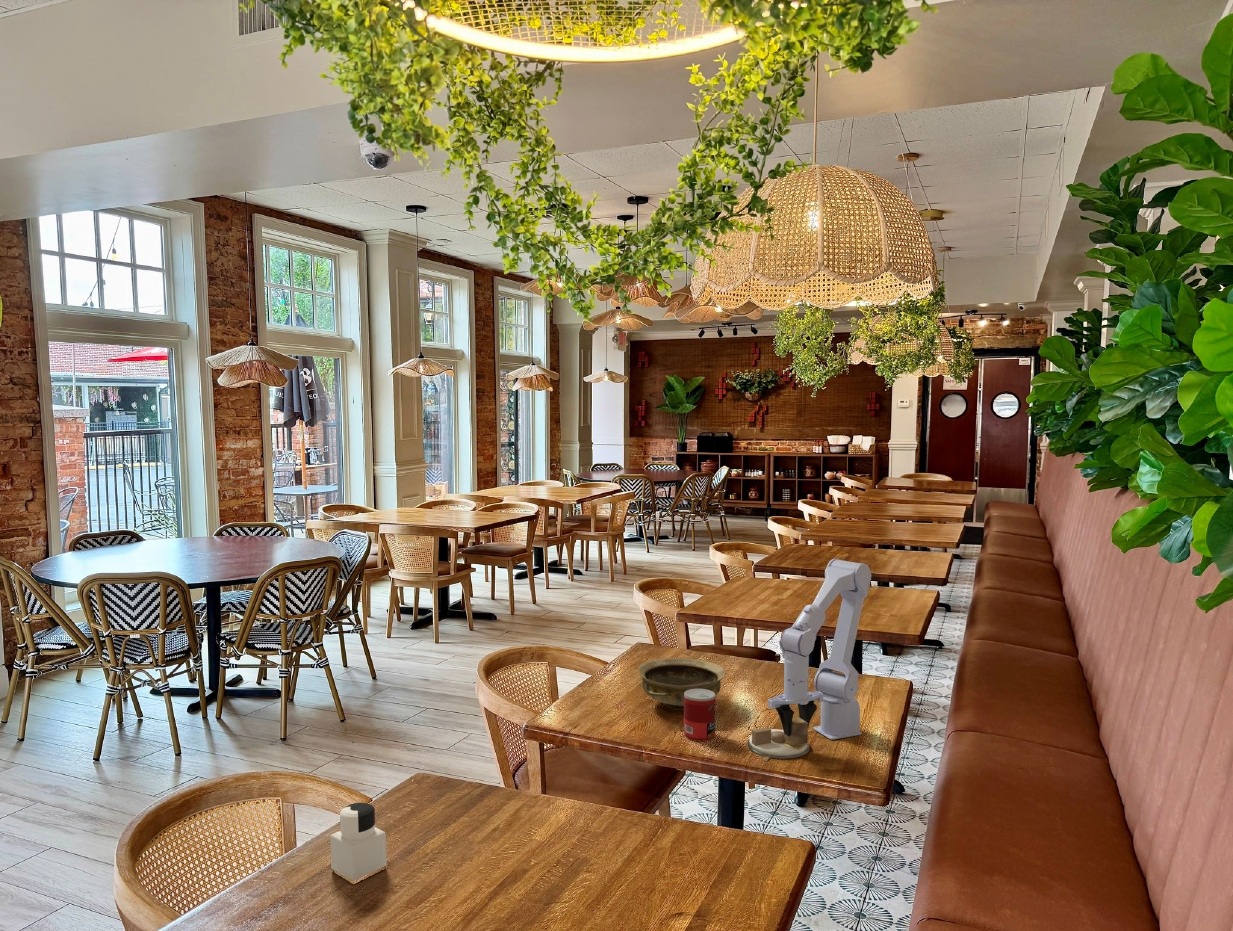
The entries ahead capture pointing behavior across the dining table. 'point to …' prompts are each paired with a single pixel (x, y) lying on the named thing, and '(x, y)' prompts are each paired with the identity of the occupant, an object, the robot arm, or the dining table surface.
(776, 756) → the bearing plate
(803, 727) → the walnut block
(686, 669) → the ceramic bowl
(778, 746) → the turntable
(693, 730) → the canned food
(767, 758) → the index mark
